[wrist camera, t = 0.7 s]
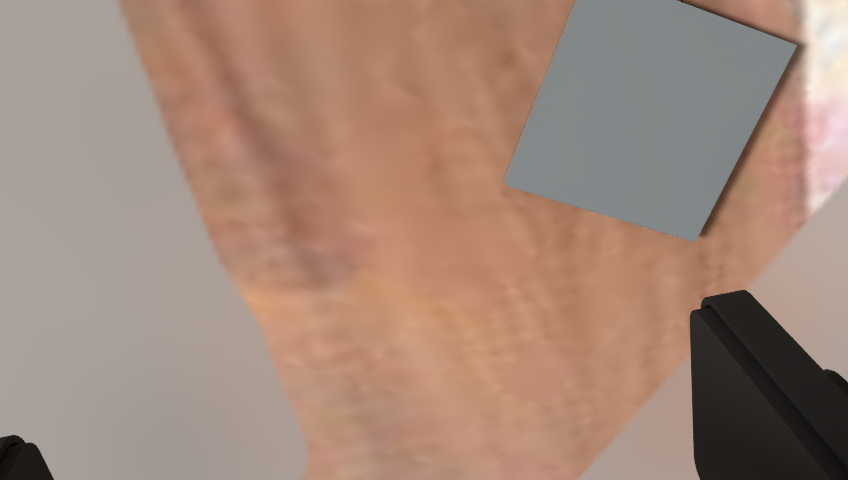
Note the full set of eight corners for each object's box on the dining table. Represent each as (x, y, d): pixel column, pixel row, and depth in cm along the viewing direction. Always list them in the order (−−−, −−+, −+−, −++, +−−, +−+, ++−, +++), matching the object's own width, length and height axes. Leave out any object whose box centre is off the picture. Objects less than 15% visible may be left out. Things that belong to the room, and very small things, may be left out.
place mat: (588, -33, 37) (594, -31, 36) (786, 41, 39) (797, 44, 39) (503, 179, 41) (507, 185, 40) (687, 234, 43) (695, 242, 43)
